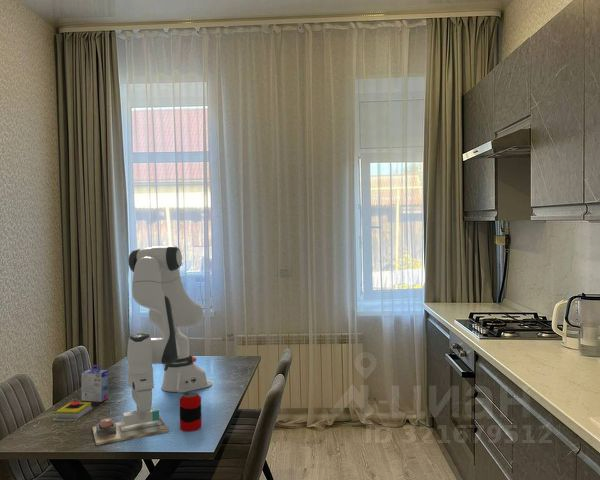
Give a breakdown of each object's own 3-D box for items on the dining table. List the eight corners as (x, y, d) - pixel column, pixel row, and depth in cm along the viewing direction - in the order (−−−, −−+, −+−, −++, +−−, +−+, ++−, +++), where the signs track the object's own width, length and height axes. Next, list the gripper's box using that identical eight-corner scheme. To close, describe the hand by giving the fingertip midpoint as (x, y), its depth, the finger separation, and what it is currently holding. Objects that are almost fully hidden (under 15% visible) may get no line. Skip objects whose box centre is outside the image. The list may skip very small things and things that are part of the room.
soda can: (190, 422, 190) (189, 390, 190) (205, 426, 186) (205, 393, 186) (175, 429, 184) (175, 396, 183) (191, 433, 180) (190, 399, 180)
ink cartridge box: (109, 398, 220) (108, 364, 219) (102, 402, 214) (101, 368, 214) (89, 396, 222) (88, 363, 221) (81, 401, 216) (80, 367, 216)
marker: (123, 422, 184) (123, 412, 184) (157, 416, 189) (157, 407, 189) (124, 426, 181) (124, 416, 181) (159, 420, 186) (159, 410, 186)
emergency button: (94, 397, 208) (74, 410, 193) (94, 408, 208) (75, 422, 193) (72, 397, 209) (51, 410, 194) (72, 408, 209) (51, 421, 194)
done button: (111, 426, 182) (111, 417, 182) (112, 429, 179) (112, 421, 179) (99, 428, 180) (99, 419, 180) (100, 432, 177) (100, 423, 177)
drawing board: (159, 417, 196) (159, 408, 196) (168, 431, 181) (168, 422, 181) (92, 429, 185) (92, 420, 185) (96, 445, 171) (96, 435, 170)
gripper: (127, 373, 192) (128, 409, 193) (135, 387, 174) (136, 428, 174) (144, 371, 195) (145, 406, 196) (154, 385, 177) (155, 424, 177)
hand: (141, 417), depth 185 cm, fingers closed on marker, 4 cm apart
